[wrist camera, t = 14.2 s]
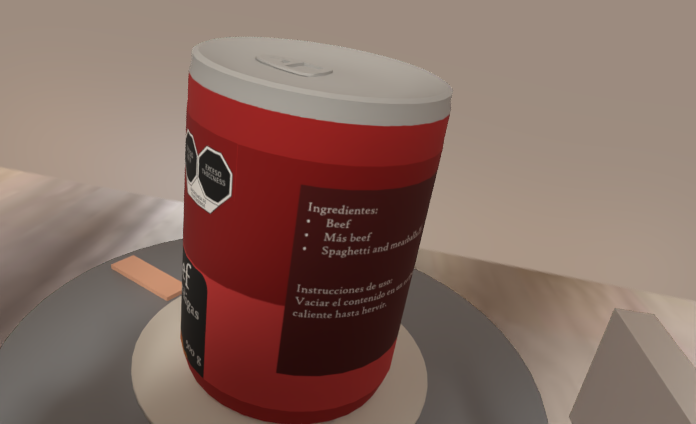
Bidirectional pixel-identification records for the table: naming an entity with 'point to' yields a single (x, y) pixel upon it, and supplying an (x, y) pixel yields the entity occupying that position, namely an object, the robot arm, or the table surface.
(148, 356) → the turntable
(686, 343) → the table surface
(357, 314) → the canned food
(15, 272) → the table surface
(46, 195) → the table surface
